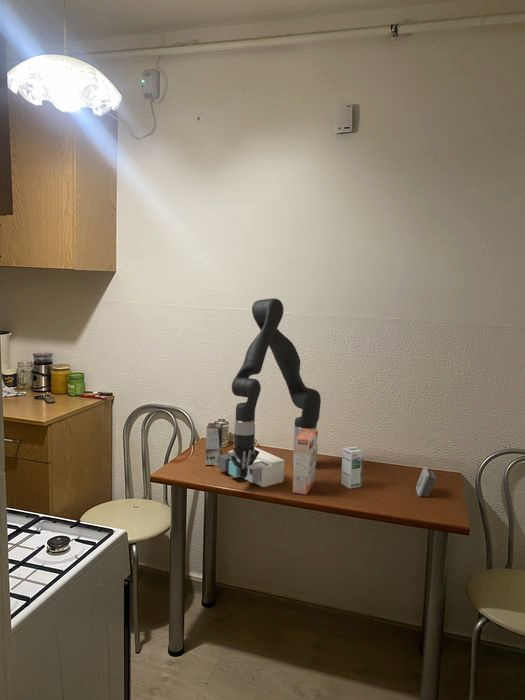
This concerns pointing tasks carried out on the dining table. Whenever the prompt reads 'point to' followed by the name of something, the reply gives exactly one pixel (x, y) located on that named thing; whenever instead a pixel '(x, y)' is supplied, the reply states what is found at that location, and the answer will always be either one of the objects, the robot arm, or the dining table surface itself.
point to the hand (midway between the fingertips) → (243, 477)
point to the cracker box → (304, 461)
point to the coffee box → (214, 442)
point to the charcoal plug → (224, 462)
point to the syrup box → (352, 467)
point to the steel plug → (255, 472)
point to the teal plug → (233, 469)
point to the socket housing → (269, 468)
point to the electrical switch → (425, 482)
